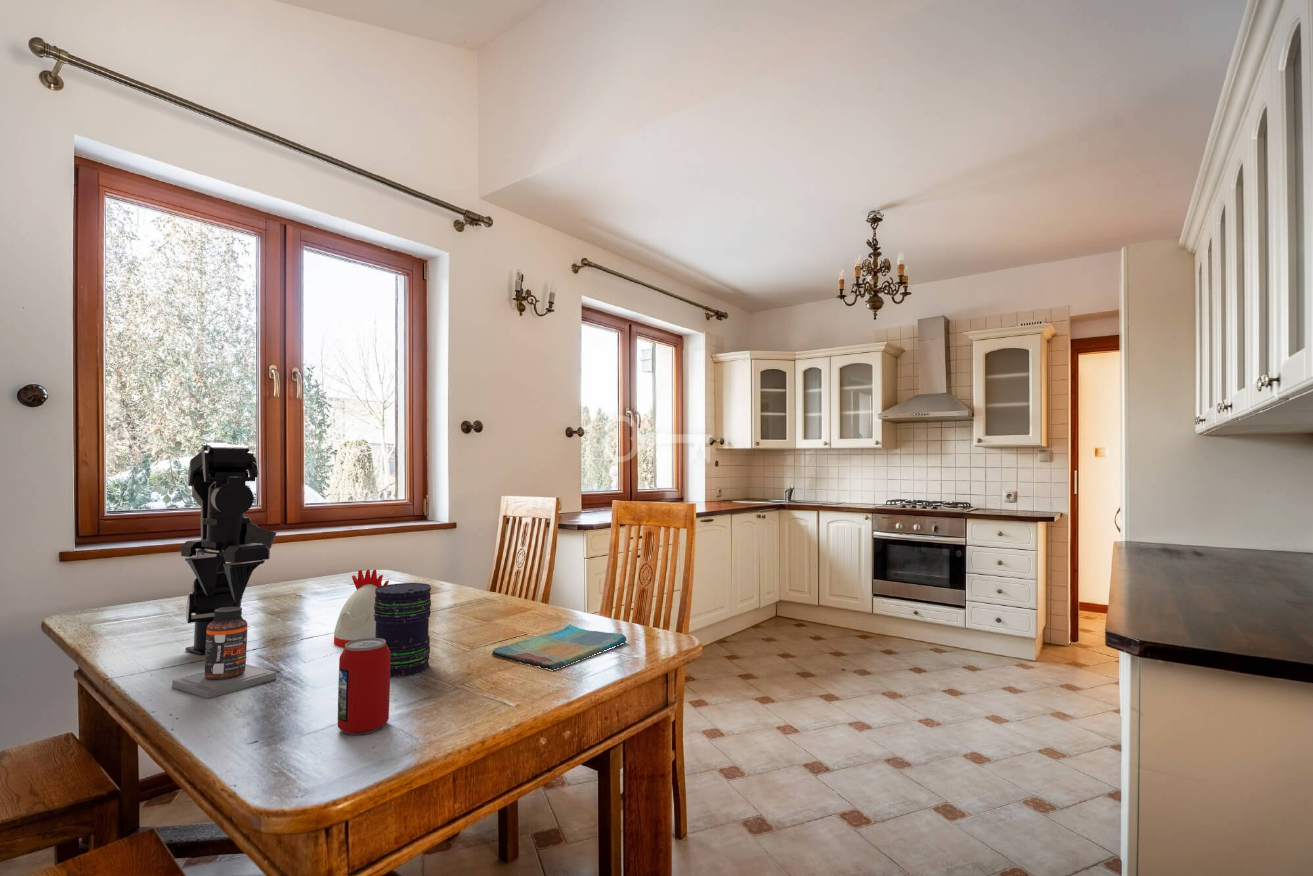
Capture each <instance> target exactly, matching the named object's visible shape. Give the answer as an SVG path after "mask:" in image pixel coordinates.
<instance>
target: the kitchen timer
mask: <svg viewBox="0 0 1313 876" xmlns="http://www.w3.org/2000/svg"><path fill="white" fill-rule="evenodd" d="M383 577H384V575H383V574H381V575H379V576H378V575H377V569H373V570H372V572H371V570H370V569H366V570H365V574H364V573H363V570H362V569H359V570H358V571H357V576H356V575H351V578H352V581H353V584H354V586H355V589H356V590H355V591H354V592H353V593H352V594H351V595H349V597H348V598H347V600H346V601H345V603H344V604H343V606H342V608H341V610H340V613H339V616H338V617H337V621H336V625H335V626H334V627H335V628H334V634H333V644H334V645H335V646H337V647H339V648H345V644H346V643H348V642H350V641H353V640H358V639H364V638H375V631H376V621H375V620H374V614H375V610H374V603H375V597H376V594H375V589H376V588H377V587H380V586H384V585H389V583H390V580H386V581H384V583H383V584H382V580H383Z"/></svg>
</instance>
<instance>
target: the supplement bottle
mask: <svg viewBox="0 0 1313 876" xmlns="http://www.w3.org/2000/svg"><path fill="white" fill-rule="evenodd" d="M242 612H243V608H242V607H224V608H219V609H216V610H215V611H214V620H213V621H212V622H211V623H210V624H209V625H208V626H207V631H206V650H205V654H204V671H203V672H205V673H204V675H205V677H206V678H208V679H227V678H232V677H236V676H238V675H241V674H242V673H244V671H245V667H246V663H247V658H248V657H247V649H248V648H247V647H248V621H247V620H246V619H245V618H244V617H242V615H243V613H242Z"/></svg>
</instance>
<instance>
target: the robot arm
mask: <svg viewBox="0 0 1313 876" xmlns="http://www.w3.org/2000/svg"><path fill="white" fill-rule="evenodd" d="M257 464H258V463H257V457H255V455H254V452H253V451H250V447H249V446H248V445H232V444H229V443H226V442H206V443H202V447H201V451H200V452H198V454H196V455H195V456H193V458H191V459H190V461H189V466H188V472H187V473H188V474H187V486H188V487H191V497H192V498H193V500H194V501H195V502H196V503H197V504H198V505H199V507H200V539H196V540H195V539H193V540H186V541H185V542H184V543H183V544H181V548H180V549H181V550H180V556H181V557H186V558H184V561H185V562H187V564H188V565H189V568H190V569H191V571H192V572H193V574H194V576H195V577H196V578H195V579H194V581H193V584H192V586H191V591H189V592H188V594H187V601H186V606H185V607H186V608H185V620H186V623H187V624H191V623H194V632H193V633H194V635H193V645H192V646H188V647H185V651H186V652H191V653H195V654H198V655H205V650H206V631H207V626H208V625H209V624H210V623H211V622H212V621H213V620H214V611H215V610H216V609H219V608H224V607H241V606H242V601H243V596H244V593H245V590H246V589H247V585H248V583H249V580H250V578H251V576H252V575H253V571H254V570H255V569H257V568H258V567H259V566H260V565H263V564H265V562H266V560H270V558H271V549H272V546H273V543H274V541H275V539H276V536H277V532H275V531H272V530H269V529H265V528H261V527H259V525H258V524H254V523H252V520H251V518H250V517H248V516H245V513H246V512H247V511H249V510H250V509H251V508H252V506H253V503H254V499H255V498H254V493H253V492H252V490H251V489H250V488H249V487H248V486H247V485H246V482H256V478H258V476H259V469H258V465H257ZM241 608H242V607H241Z"/></svg>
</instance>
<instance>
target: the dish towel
mask: <svg viewBox="0 0 1313 876" xmlns="http://www.w3.org/2000/svg"><path fill="white" fill-rule="evenodd" d="M625 641H626V642H627V637H626V636H625V635H624V634H623V633H620V632H619V633H618V632H617V633H616V632H605V631H599V630H589V629H588V630H587V629H584V628H581V627H577V626H575V625H573V624H568V625H566V626H564V627H563V628H561V629H558V630H556V631H554V632H549V633H548V632H547V633H545V634H544V633H543V634H538V635H535V636H533V637H530V638H528V639H522V640H519V641H515V642H512V643H509V644H506V645H502V646H498V647H495V648H494V649H492V650H491V655H492V656H494V657H493V658H496V657H497V658H496V659H500V658H502V659H501V660H504V659H505V660H504V661H508V660H512V661H515V662H514V663H516V662H521V663H523V664H522V665H524V664H530V665H532V666H540V667H541V668H548V669H551V670H554V669H557V668H561V667H563V666H566V665H568V664H571V663H573V662H576V661H578V660H582V659H584V658H587V657H589V656H592V655H594V654H597V653H599V652H603V651H604V650H607V649H609V648H612V647H614V646H617V645H620V644H621V643H625V644H626V642H625ZM492 656H491V657H492ZM587 659H588V658H587ZM512 661H511V662H512ZM582 661H583V660H582ZM532 666H531V667H532ZM566 667H567V666H566ZM561 669H562V668H561Z"/></svg>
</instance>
